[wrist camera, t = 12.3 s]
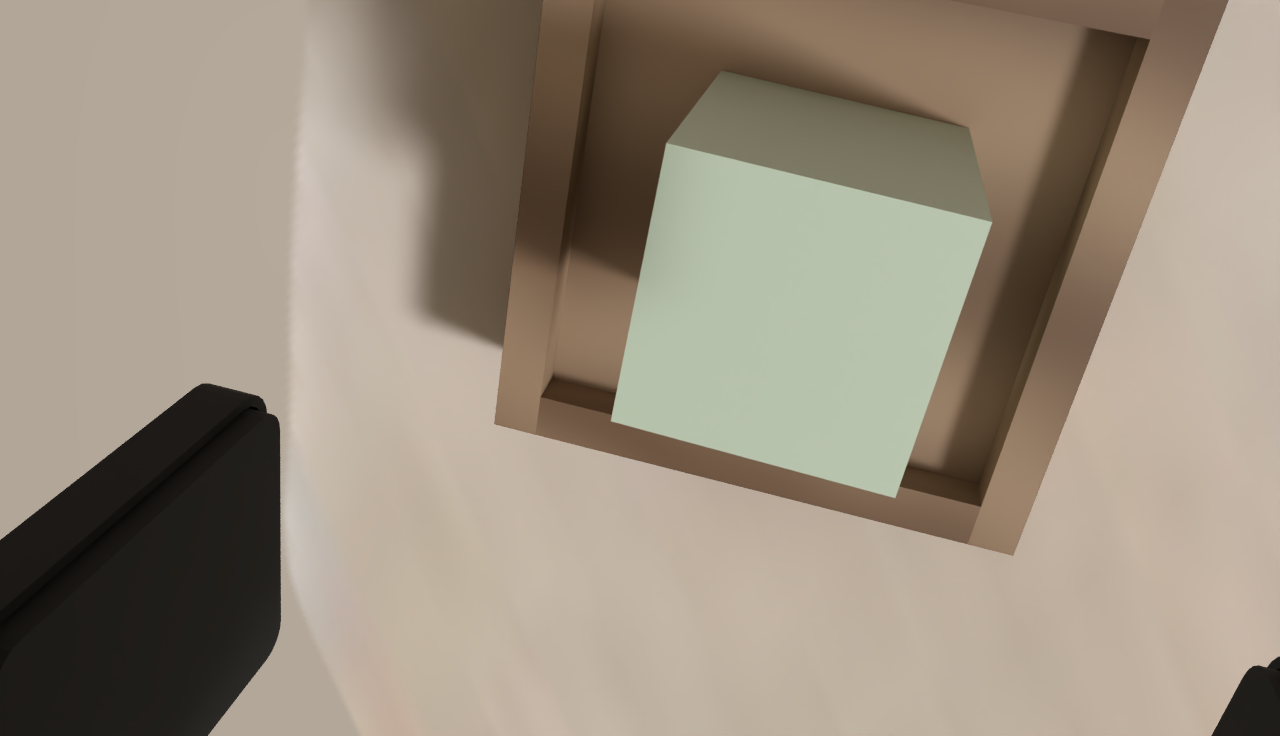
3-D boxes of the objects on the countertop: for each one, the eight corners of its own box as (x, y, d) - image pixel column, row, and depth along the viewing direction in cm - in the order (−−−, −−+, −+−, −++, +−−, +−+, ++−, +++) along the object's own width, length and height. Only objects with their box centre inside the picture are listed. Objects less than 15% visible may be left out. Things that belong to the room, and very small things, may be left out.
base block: (609, -139, 24) (558, -136, 20) (1180, -32, 22) (1231, -9, 19) (543, 354, 29) (494, 423, 26) (999, 465, 28) (1013, 555, 24)
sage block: (721, 69, 22) (666, 143, 17) (969, 128, 22) (992, 222, 16) (673, 295, 24) (610, 421, 19) (896, 352, 24) (895, 497, 19)
